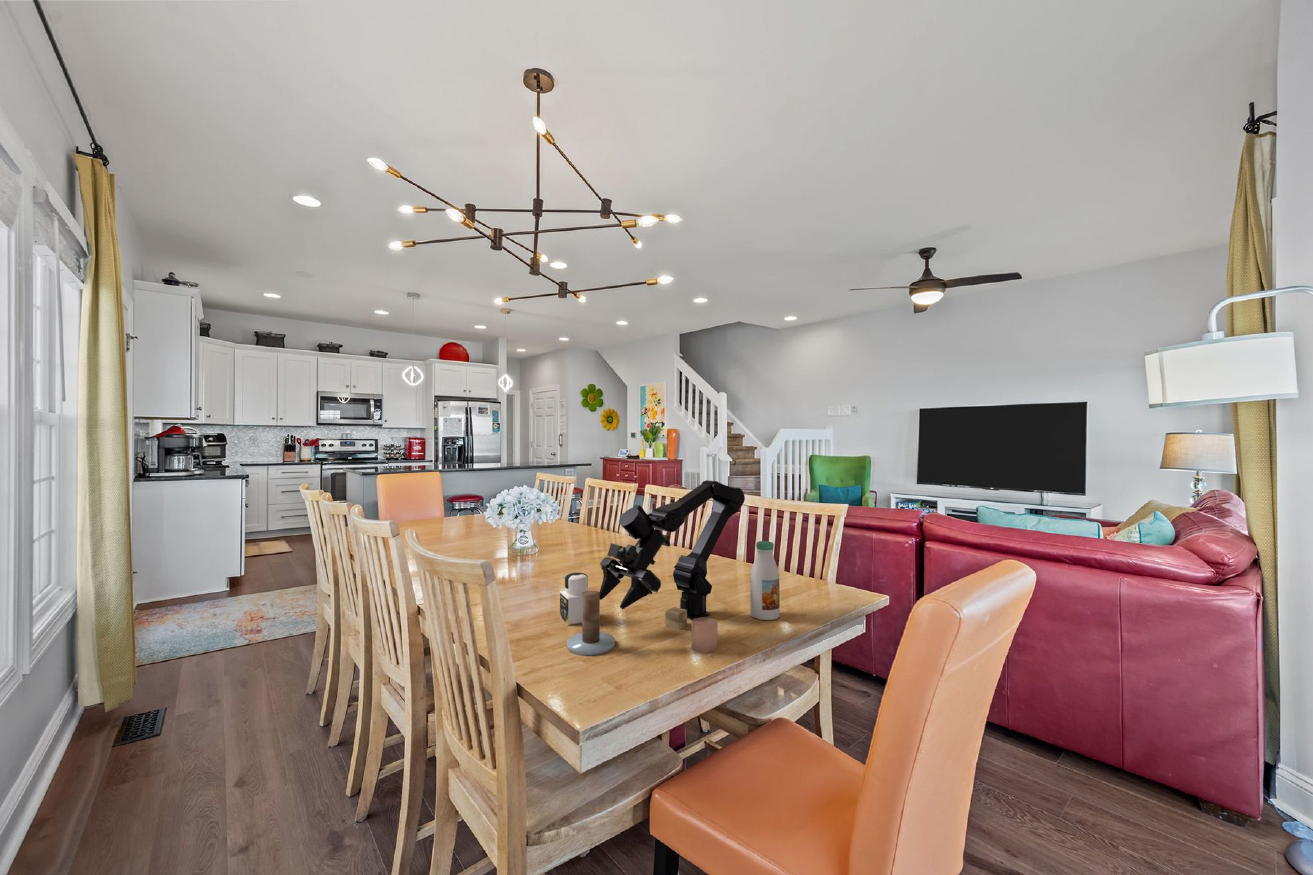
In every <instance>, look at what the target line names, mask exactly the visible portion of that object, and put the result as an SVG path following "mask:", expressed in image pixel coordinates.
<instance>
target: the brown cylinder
mask: <svg viewBox="0 0 1313 875" xmlns="http://www.w3.org/2000/svg"><path fill="white" fill-rule="evenodd" d="M599 592H600V591H597V590H588V591H585V592H583V593H582V623H581V624H582V625H581V626H582V628H581V629H582V631H581V633H582V641H583V642H584V643H587V644H593V643H597V642H599V641H600V632H601V630H600V629H601V625H600V623H601V620H600V618H601V614H600V612H601V611H600V607H601V606H600V605H601V604H600V603H601V602H600V601H601V600H600V593H599Z"/></svg>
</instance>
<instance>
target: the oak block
mask: <svg viewBox="0 0 1313 875" xmlns="http://www.w3.org/2000/svg"><path fill="white" fill-rule="evenodd" d="M664 615H665V616H664V619H665V620H664V624H665V627H666V628H671V629H675V630H681V629H682V628H684V627H686V626H687V625H688V617H687V610H685V609H681V608H678V607H676V606H674V607H671V608H669V609H667V610H665V613H664Z"/></svg>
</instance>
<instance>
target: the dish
mask: <svg viewBox="0 0 1313 875" xmlns="http://www.w3.org/2000/svg"><path fill="white" fill-rule="evenodd" d="M615 644H616V643H615V637H614V636H613V635H612V634H610V633H608V632H603V631H600V641H599V642H597V643H593V644H587V643H584V642H583V641H582V632H580V633H576V634H574V635H572V636H570V637H569V638H568V639H567V641H566V649H567V650H568V651H569V652H571V653H572V654H575V655H580V656H596V655H598V656H599V655H602V654H606V653H608V652H610V651H612V650H613V649H614V648H615Z"/></svg>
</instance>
